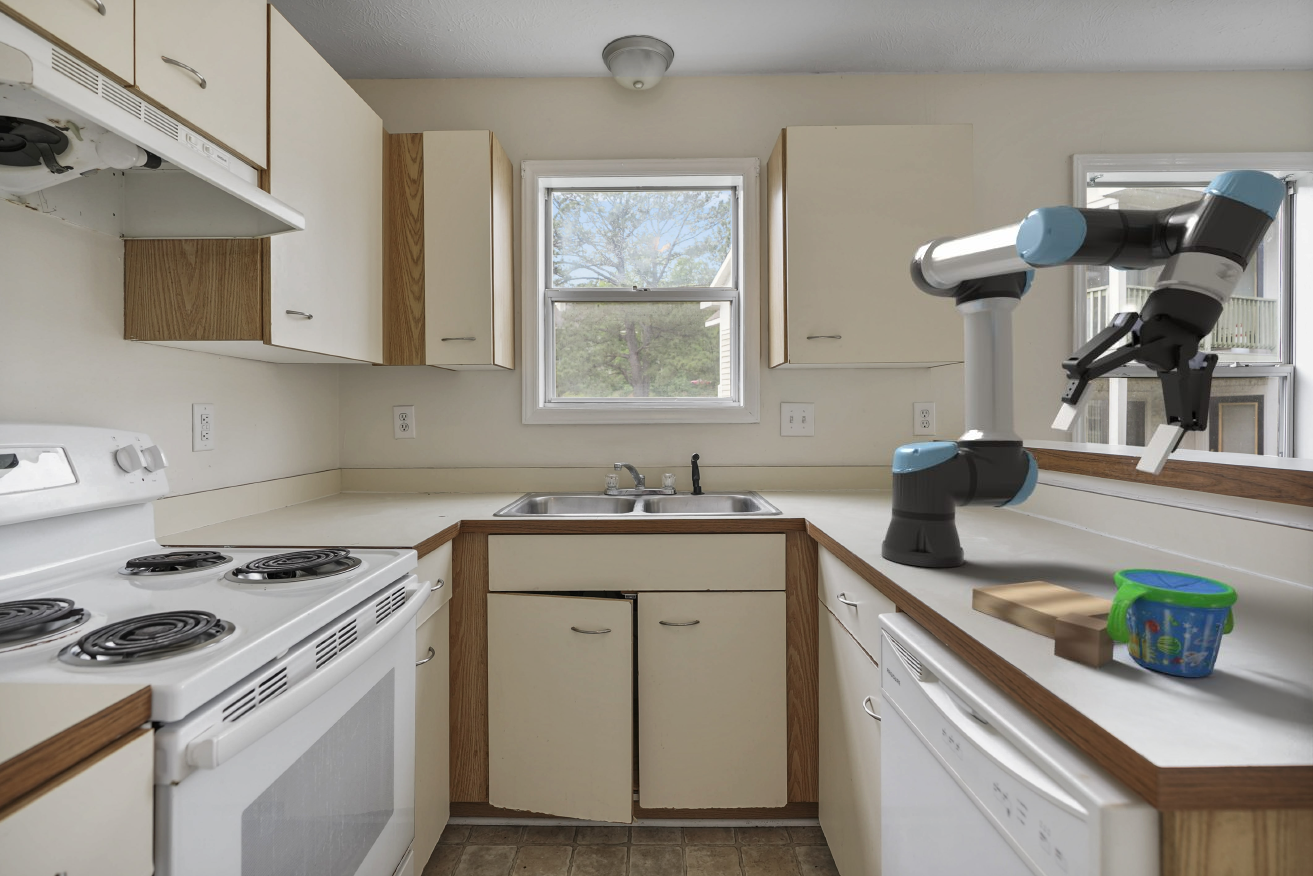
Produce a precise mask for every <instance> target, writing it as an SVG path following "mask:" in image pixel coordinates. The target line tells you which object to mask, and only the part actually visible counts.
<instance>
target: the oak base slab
mask: <svg viewBox="0 0 1313 876" xmlns="http://www.w3.org/2000/svg"><path fill="white" fill-rule="evenodd" d="M971 601H972V602H971V605H972V606H971V608H973V609H972V610H975V611H979V612H980V611H981V613H984V614H986V615H988V614H989V616H992V617H994V618H996V617H997V619H999V618H1000V619H999V620H1002V621H1005V622H1007V621H1008V622H1007V623H1010V624H1013V625H1016V626H1018V627H1020V626H1021V628H1024V629H1026V630H1029V631H1032V632H1034V633H1036V632H1037V634H1038V635H1039V634H1040V635H1042V636H1045V637H1047V638H1049V639H1052V640H1055V625H1056V619H1057V618H1059V617H1062V616H1064V615H1066V614H1069V613H1071V612H1073V613H1077V614H1081V615H1085V616H1089V617H1093V618H1097V619H1101V620H1105V621H1108V617H1109V613H1110V610H1111V606H1112V603H1113V601H1112V600H1109V599H1105V598H1102V597H1099V596H1095V595H1092V594H1088V593H1084V592H1082V591H1078V590H1074V589H1071V588H1067V587H1064V586H1061V585H1057V584H1054V583H1050V582H1047V581H1043V580H1036V581H1028V582H1020V583H1018V582H1017V583H1009V584H999V585H992V586H983V587H975V588H972V600H971Z"/></svg>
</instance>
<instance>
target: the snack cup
mask: <svg viewBox="0 0 1313 876" xmlns="http://www.w3.org/2000/svg"><path fill="white" fill-rule="evenodd" d="M1113 580H1114V583H1115V586H1116V588H1117V592H1116V593H1115V596H1114V598H1113V603H1112V606H1111V610H1110V613H1109V617H1108V621H1107V627H1106V628H1107V631H1108V635H1109V636H1110V637H1111V638H1112V639H1113V640H1114V642H1116V643H1119V644H1124V645H1125V644H1126V646H1127V647H1126V648H1127V652H1128V655H1129V656H1130V657H1131V658H1132V659H1133V660H1134V661H1135V662H1136V663H1138V664H1140V666H1142V667H1144V668H1148V669H1151V670H1154V671H1158V672H1160V673H1164V674H1167V675H1171V676H1178V677H1185V678H1200V677H1205V676H1207V675H1212V674H1213V671H1214V669H1215V665H1216V662H1217V659H1218V655H1219V652H1220V648H1221V644H1222V639H1223V635H1229V634H1231V633H1232V632H1233V631H1234V627H1235V620H1234V613H1233V608H1232V606H1233V605H1234V604H1235V603H1236V602H1237V600H1238V597H1239V596H1238V593H1237V592H1236V590H1235V588H1233V587H1232V586H1231V585H1229V584H1227V583H1225V582H1221V581H1219V580H1216V579H1213V578H1208V577H1205V576H1199V575H1196V574H1192V573H1185V572H1179V571H1171V570H1165V569H1155V568H1153V569H1152V568H1151V569H1150V568H1127V569H1121V570H1118V571H1117V572H1115V574H1114V576H1113Z"/></svg>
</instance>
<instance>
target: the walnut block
mask: <svg viewBox="0 0 1313 876" xmlns="http://www.w3.org/2000/svg"><path fill="white" fill-rule="evenodd" d="M1106 627H1107V621H1105V620H1101V619H1097V618H1093V617H1089V616H1085V615H1081V614H1077V613H1073V612H1071V613H1069V614H1066V615H1064V616H1062V617H1059V618H1057V619H1056V625H1055V639H1054V651H1053V655H1054V656H1056V657H1060V658H1064V659H1067V660H1069V661H1073V662H1077V663H1079V664H1080V663H1081V664H1082V665H1083V664H1084V665H1086V666H1090V667H1093V668H1095V669H1096V668H1097V669H1099V668H1100V667H1102V666H1104V665H1106V664H1107V663H1109V662H1111V661H1112V660H1114V644H1115V641H1114V640H1113V639H1112V638H1111V637H1110V636H1109V635H1108V631H1107V628H1106Z"/></svg>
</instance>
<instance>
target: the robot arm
mask: <svg viewBox="0 0 1313 876" xmlns="http://www.w3.org/2000/svg"><path fill="white" fill-rule="evenodd" d="M1286 193H1287V187H1286V184H1285V182H1284V181H1283V180H1282V179H1281V178H1278V177H1277V176H1274V174H1271V173H1269V172H1265V171H1261V170H1255V169H1236V170H1231V171H1230V170H1229V171H1227V172H1224V173H1221V174H1218V175H1217V176H1216V177H1215V178H1213V179H1212V180H1211V181H1210V183H1209V184H1208V186H1207V187H1206V189H1204V191H1202V195H1201V197H1200V199H1199V200H1195V201H1194V200H1193V201H1191V202H1187V203H1184V204H1181V205H1177V206H1171V207H1168V208H1164V209H1157V210H1156V209H1155V210H1152V209H1151V210H1148V209H1127V208H1126V209H1124V208H1120V209H1119V208H1117V209H1116V208H1096V207H1095V208H1094V207H1077V206H1076V207H1073V206H1068V205H1057V206H1043V207H1037V208H1036V209H1034V210H1032V211H1030V212H1029V215H1028V216H1026V217H1025V218H1023V220H1022V221H1019V222H1018V221H1017V222H1016V223H1014V222H1013V223H1011V224H1007V225H1004V226H1000V227H996V228H992V229H989V230H984V231H982V232H977V233H974V234H969V235H966V236H963V237H959V238H958V237H954V236H951V235H950V236H941V237H938V238H934V239H931V240H929V241H926V242H924V243H923V244H922V245H921V246H918V248H917V249H916V250H915V252H914V253H913V256H912V258H911V261H910V265H909V271H910V272H909V273H910V279H911V280H912V282H913V283H914V285H915V286H916V287H917V289H918V290H920V291H922V292H923V293H925V294H927V295H929V296H933V297H939V298H954V299H955V312H957V313H959V314H960V315H961V316H963V329H964V330H963V333H964V334H963V337H964V339H963V341H964V342H963V344H964V347H963V348H964V349H963V350H964V352H963V353H964V415H965V416H964V417H965V418H964V421H965V425H964V428H965V431H964V433H963V434H962V435H961V436H960V437H959V438H958V439H957V441H956V442H955V441H932V442H931V441H927V442H917V443H910V444H905V445H901V446H899V447H898V448H897V449H896V450H895V451H894V455H893V462H892V468H891V471H892V484H891V485H892V492H891V495H892V496H891V498H892V499H891V519H890V522H889V524H888V527H887V530H886V534H885V537H884V540H883V541H882V543H881V556H882V557H883V558H884V559H887V560H890V561H892V562H895V563H899V564H904V565H909V566H918V567H926V568H953V567H959V566H962V565H963V564H964V561H965V560H964V559H965V551H964V548H963V547H962V546H961V542H960V535H959V533H958V529H957V526H956V508H957V507H959V508H961V507H964V508H965V507H970V508H971V507H981V508H982V507H984V508H985V507H988V508H989V507H991V508H998V509H999V508H1003V507H1014V506H1018V505H1020V504H1023V503H1024V502H1026V501H1027V500H1028V499H1029V497H1031V495H1032V494H1033V492H1034V491H1035V489H1036V486H1037V483H1038V479H1039V465H1038V463H1037V460H1036V459H1035V456H1034V454H1033V453H1032V452H1030V450H1029V451H1028V450H1027V449H1025V448H1024V439H1023V438H1022V437H1021V436H1019V434H1017V433H1016V431H1015V425H1014V424H1015V422H1014V421H1015V420H1014V419H1015V418H1014V415H1015V414H1014V413H1015V412H1014V361H1013V360H1014V359H1013V357H1014V355H1013V354H1014V353H1013V352H1014V351H1013V349H1014V348H1013V347H1014V346H1013V312H1014V311H1015V310H1016V308H1018V307H1019V306H1020V305H1021V304H1022V303H1021V298H1023V297H1024V296H1025V295H1027V293H1028V292H1029V290H1030V289H1031V287H1032V284H1031V283H1032V282H1033V281H1034V278H1035V275H1036V274H1035V270H1038V269H1046V268H1054V267H1061V266H1094V267H1095V266H1096V267H1097V266H1098V267H1110V268H1113V269H1115V270H1117V271H1143V270H1144V271H1145V270H1148V269H1151V268H1156V267H1162V266H1164V267H1163V269H1162V271H1161V272H1160V275H1159V277H1158V278H1157V280H1156V282H1155V283H1154V286H1153V289H1154V291H1151V292H1150V293H1149V294H1148V295H1149V296H1148V297H1147V299H1146V301H1145V303H1144V304H1143V307H1142V308H1141V310H1140V312H1137V311H1126V312H1117V313H1115V314H1114V315H1113V317H1112V319H1111V320H1110V321H1109V323H1108V324H1107V326H1106V327H1104V329H1102V330H1101V331H1099V332H1098V333H1097V334H1096V335H1095V336H1093V337H1092V338H1091V339H1090V340H1088V341H1087V342H1086V343H1085V344H1083V345H1082V346H1080V348H1078V349H1077V350H1076V351H1074V352H1073V353H1072V354H1071V355H1069V356H1068V357H1067V358H1066V359H1065V360H1063V362H1062V363H1061V368H1062V369H1064V370H1067V373H1066V375H1065V376H1066V378H1067V379H1068V380H1070V381H1069V383H1068V385H1067V387H1066V389H1065V390H1064V391H1063V394H1062V396H1061V402H1062V403H1063V405H1062V406H1061V408H1060V410H1059V412H1058V413H1057V416H1056V418H1055V419H1054V421H1053V423H1052V424H1051V426H1050V428H1052V429H1053V430H1055V431H1060V432H1066V433H1069V434H1070V433H1071V434H1072V432H1073V431H1074V428H1075V426H1076V425H1077V423H1078V421H1079V419H1080V417H1081V415H1082V414H1083V412H1084V410H1085V408H1086V406H1087V404H1088V403H1089V401H1090V399H1091V396H1092V395H1093V394H1094V391H1095V390H1096V388H1097V384H1095V383H1093V382H1090V381H1092V380H1093V381H1094V380H1095V379H1097V378H1099V377H1101V376H1104V375H1106V374H1107V373H1110V372H1111V371H1114V370H1116V369H1118V368H1120V367H1123V366H1124V365H1126V364H1128V363H1130V362H1133V361H1134V362H1135V363H1137V364H1141V365H1144V366H1146V367H1147V368H1148V370H1151V371H1153V372H1156V375H1157V378H1158V379H1160V383H1161V389H1162V396H1163V402H1164V403H1163V405H1164V409H1165V410H1164V411H1165V416H1166V417H1165V418H1166V424H1163V423H1160V424H1159V425H1158V427H1157V429H1156V430H1155V432H1154V434H1153V436H1152V438H1151V440H1150V441H1149V443H1148V445H1147V447H1146V448H1145V451H1144V452H1143V454H1142V456H1141V458H1140V459H1139V461H1138V463H1137V465H1136V467H1135V469H1136V470H1138V471H1140V472H1144V473H1148V474H1149V473H1150V474H1152V475H1156V476H1159V474H1160V473H1161V471H1162V469H1163V467H1164V465H1165V464H1166V462H1167V460H1168V458H1169V457H1170V455H1171V454H1173V453H1175V452H1176V451H1177V449H1178V448H1179V446H1180V444H1181V442H1182V440H1183V439H1184V437H1185V435H1186V433H1187V432H1205V431H1206V430H1207V428H1208V423H1209V422H1208V420H1209V410H1210V404H1211V403H1210V401H1211V392H1212V382H1213V374H1214V373H1213V372H1214V370H1215V368H1216V367H1217V363H1218V362H1219V359H1220V357H1219V355H1218V354H1216V353H1205V352H1203V351H1199V344H1200V342H1201V341H1202V340H1203V339H1204V338H1205V337H1207V336H1209V334H1210V335H1211V333H1212V332H1213V329H1214V328H1215V326H1216V324H1217V323H1218V321H1219V318H1220V317H1221V315H1222V313H1223V312H1224V307H1223V305H1225V304H1226V303H1228V302H1229V299H1230V298H1231V297H1232V294H1233V293H1234V291H1235V290H1236V287H1237V285H1238V283H1239V282H1240V280H1241V278H1242V277H1243V275H1244V272H1245V271H1246V269H1247V267H1248V266H1249V264H1250V262H1251V261H1252V259H1253V257H1254V255H1255V253H1256V251H1257V250H1258V248H1259V246H1260V244H1261V242H1262V241H1263V239H1264V237H1265V235H1266V234H1267V232H1268V230H1269V228H1270V227H1271V225H1272V223H1273V222H1275V220H1276V219H1277V217H1276V216H1277V214H1278V212H1279V210H1280V207H1281V205H1282V203H1283V200H1284V199H1285V195H1286ZM1129 333H1130V334H1131V341H1129V342H1128V343H1125V344H1123V345H1122V346H1119V347H1118V348H1116V350H1114V351H1112V352H1110V353H1108V354H1106V355H1104V356H1102V357H1100V356H1101V355H1103V354H1104V353H1105V352H1106V351H1108V350H1109V349H1110V348H1112V347H1114V345H1116V343H1118V342H1119V341H1120V340H1122V339H1123V338H1124V337H1125V336H1127V335H1128V334H1129ZM1099 357H1100V358H1099Z"/></svg>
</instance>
